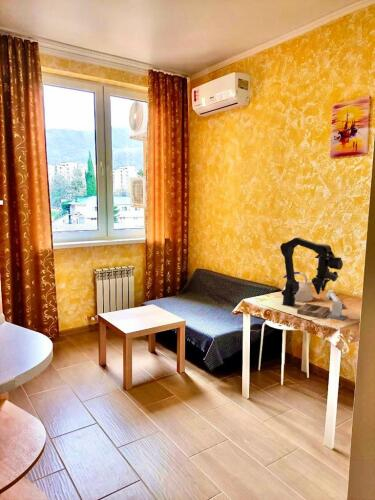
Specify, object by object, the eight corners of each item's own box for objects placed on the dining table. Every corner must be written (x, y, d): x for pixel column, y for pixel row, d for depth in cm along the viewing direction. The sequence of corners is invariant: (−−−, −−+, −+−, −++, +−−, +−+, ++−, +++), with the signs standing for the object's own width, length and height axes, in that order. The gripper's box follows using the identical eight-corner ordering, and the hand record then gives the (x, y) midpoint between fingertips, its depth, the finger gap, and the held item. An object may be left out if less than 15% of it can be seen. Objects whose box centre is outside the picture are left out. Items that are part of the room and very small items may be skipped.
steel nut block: (331, 316, 203) (332, 302, 202) (333, 314, 207) (334, 300, 205) (339, 317, 201) (340, 303, 200) (341, 315, 204) (342, 302, 203)
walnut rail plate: (297, 313, 209) (297, 309, 209) (306, 307, 222) (306, 303, 221) (321, 318, 201) (321, 314, 200) (329, 311, 213) (329, 307, 213)
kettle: (316, 302, 233) (317, 275, 230) (283, 300, 236) (284, 274, 234) (310, 294, 253) (312, 269, 250) (280, 293, 256) (281, 268, 253)
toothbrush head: (336, 302, 220) (326, 287, 244) (335, 312, 222) (325, 296, 246) (345, 302, 219) (334, 287, 243) (343, 312, 221) (333, 296, 245)
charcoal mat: (326, 317, 203) (326, 316, 203) (330, 313, 210) (330, 312, 210) (342, 320, 197) (342, 319, 197) (346, 316, 205) (346, 315, 204)
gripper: (333, 271, 195) (330, 298, 198) (341, 266, 210) (339, 292, 212) (312, 268, 202) (310, 295, 204) (322, 263, 216) (320, 288, 219)
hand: (320, 292), depth 210 cm, fingers open, 9 cm apart
